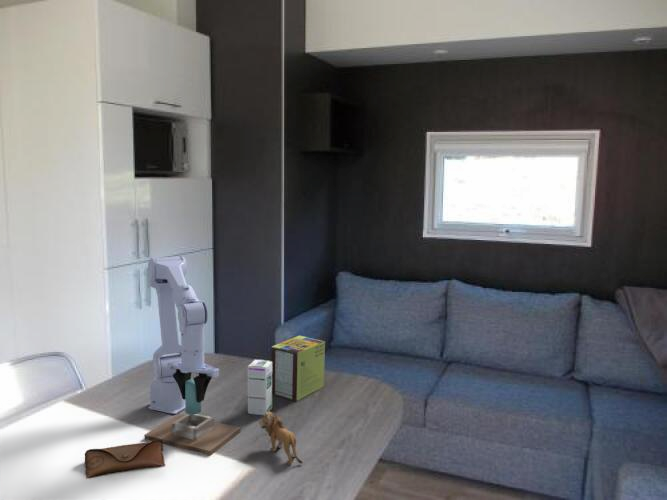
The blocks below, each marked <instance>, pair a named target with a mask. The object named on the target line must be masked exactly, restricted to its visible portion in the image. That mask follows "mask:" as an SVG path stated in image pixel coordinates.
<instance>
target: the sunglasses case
mask: <svg viewBox="0 0 667 500" xmlns="http://www.w3.org/2000/svg"><path fill="white" fill-rule="evenodd" d="M84 464H85V465H84V467H85V468H86V470H85V476H86V477H85V479H86V480H87V479H93V478H97V477H101V476H107V475H112V474H119V473H123V472H124V473H125V472H130V471H138V470H143V469H144V470H145V469H153V468H160V467H164V466H166V463H165V457H164V444H163V442H162V440H155V441H148V442H147V441H146V442H140V443H131V444H124V445H123V444H122V445H116V446H110V447H106V448H105V447H104V448H91V449H88V450H86V451H85V453H84Z"/></svg>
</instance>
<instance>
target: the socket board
mask: <svg viewBox="0 0 667 500" xmlns="http://www.w3.org/2000/svg"><path fill="white" fill-rule="evenodd" d="M241 429H242V428H241V427H239V426H234V425H231V424H230V425H229V424H227V423H226V424H225V423H221V422H218V421H215V417H214V416H209V415H205V414H201V413H198V414H194V415H190V414H187V413H185V414H181V413H177V414H175V415H174V416H173V417H171V418H170V419H168V420H166V421H164V422H163V423H161V424H160V425H158V426H156V427H155V428H153V429H151V430H150V431H147V433H145V434H144V436H143V437H144V440H145V441H149V442H151V441H155V440H162V442H163V445H167V446H170V447H173V448H178V449H182V450H186V451H191V452H194V453H198V454H202V455H206V456H213V454H214V453H216V452H217V451H218V450H220V449H221V448H222V447H224V445H226V444H227V443H229V442H230V441H231V440H233V438H235V437H236V436H237V435H239V434H240V433H241Z"/></svg>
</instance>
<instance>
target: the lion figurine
mask: <svg viewBox="0 0 667 500" xmlns="http://www.w3.org/2000/svg"><path fill="white" fill-rule="evenodd" d="M258 424H259V426H260V429H261V430H263V429H264V431H265V432H266V433H267V435H268V436H269V437H270V443H271V447H270V448H269V451H270V452H276V450H277V448H279V449H280V448H283V449H284V452H285V454H286V457H287V458H288V461H287V462H286V464H287V465H288V466H290V465H292V464H293V458H295V460H296V461H297V462H298V463H299V464H303V463H304V462H303V461H302V460H301V459H300V458H298V456H297V452H296V445H297V438H296V435H295V433H293V431H290V430H288V429H287V428H285V427H284V423H283V421H282V419H281V418H280V417H279V416H278V415H277V414H275V412H272V411H269V412H267V413H265V415H264V417H263V418H262V419H261V421H259V422H258ZM277 441H278V444H277V445H276V442H277ZM290 446H291V449H292V453H291V452H290V450H291V449H290Z"/></svg>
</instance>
